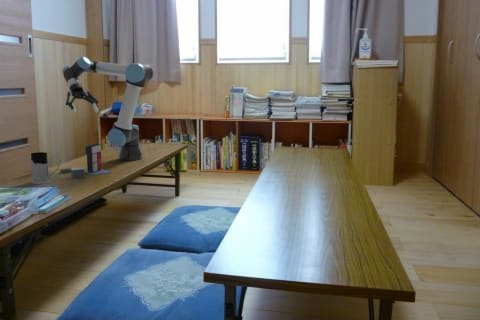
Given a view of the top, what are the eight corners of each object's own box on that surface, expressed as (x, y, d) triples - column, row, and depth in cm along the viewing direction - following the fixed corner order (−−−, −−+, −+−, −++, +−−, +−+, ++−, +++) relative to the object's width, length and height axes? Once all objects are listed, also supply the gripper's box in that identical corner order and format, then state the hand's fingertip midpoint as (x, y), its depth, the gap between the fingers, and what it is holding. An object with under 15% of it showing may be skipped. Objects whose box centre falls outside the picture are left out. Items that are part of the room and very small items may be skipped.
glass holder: (32, 180, 229) (30, 152, 227) (61, 179, 234) (60, 151, 232) (30, 184, 221) (28, 155, 219) (61, 182, 226) (59, 154, 224)
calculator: (93, 173, 248) (92, 146, 245) (86, 172, 248) (85, 146, 246) (102, 169, 258) (101, 143, 256) (95, 168, 259) (94, 143, 256)
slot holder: (71, 171, 255) (70, 162, 254) (84, 177, 240) (84, 168, 239) (59, 172, 251) (59, 163, 250) (73, 178, 236) (72, 169, 235)
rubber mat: (98, 168, 263) (98, 167, 263) (110, 172, 252) (110, 171, 251) (80, 170, 256) (80, 169, 256) (91, 175, 244) (91, 174, 244)
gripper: (92, 91, 288) (104, 115, 280) (53, 91, 272) (64, 117, 264) (95, 82, 284) (107, 107, 276) (56, 82, 267) (67, 109, 259)
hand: (86, 112), depth 270 cm, fingers open, 13 cm apart
